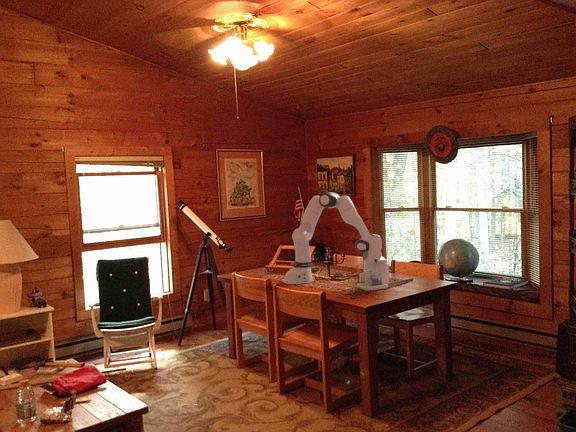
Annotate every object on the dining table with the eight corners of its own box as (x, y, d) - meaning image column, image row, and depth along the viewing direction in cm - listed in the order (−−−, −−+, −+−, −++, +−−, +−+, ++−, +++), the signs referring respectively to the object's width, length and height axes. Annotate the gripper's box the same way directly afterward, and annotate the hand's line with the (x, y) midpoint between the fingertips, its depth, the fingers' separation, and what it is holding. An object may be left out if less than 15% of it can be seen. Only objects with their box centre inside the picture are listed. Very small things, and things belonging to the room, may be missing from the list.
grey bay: (370, 285, 372) (370, 265, 371) (355, 280, 390) (355, 261, 389) (389, 283, 378) (389, 263, 377) (373, 278, 396) (373, 259, 395)
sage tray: (366, 291, 357) (366, 287, 356) (356, 287, 367) (356, 283, 367) (388, 288, 364) (388, 284, 363) (378, 285, 374) (378, 281, 374)
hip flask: (362, 273, 417) (362, 247, 415) (365, 272, 420) (365, 247, 418) (378, 276, 405) (378, 249, 404) (382, 275, 408) (382, 249, 406)
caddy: (367, 288, 361) (367, 279, 361) (363, 286, 366) (363, 278, 365) (381, 286, 366) (381, 277, 365) (377, 285, 370) (377, 276, 370)
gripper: (362, 256, 373) (362, 276, 374) (379, 261, 354) (379, 281, 356) (370, 255, 376) (370, 275, 377) (387, 260, 357) (387, 281, 358)
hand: (374, 278), depth 366 cm, fingers open, 8 cm apart
